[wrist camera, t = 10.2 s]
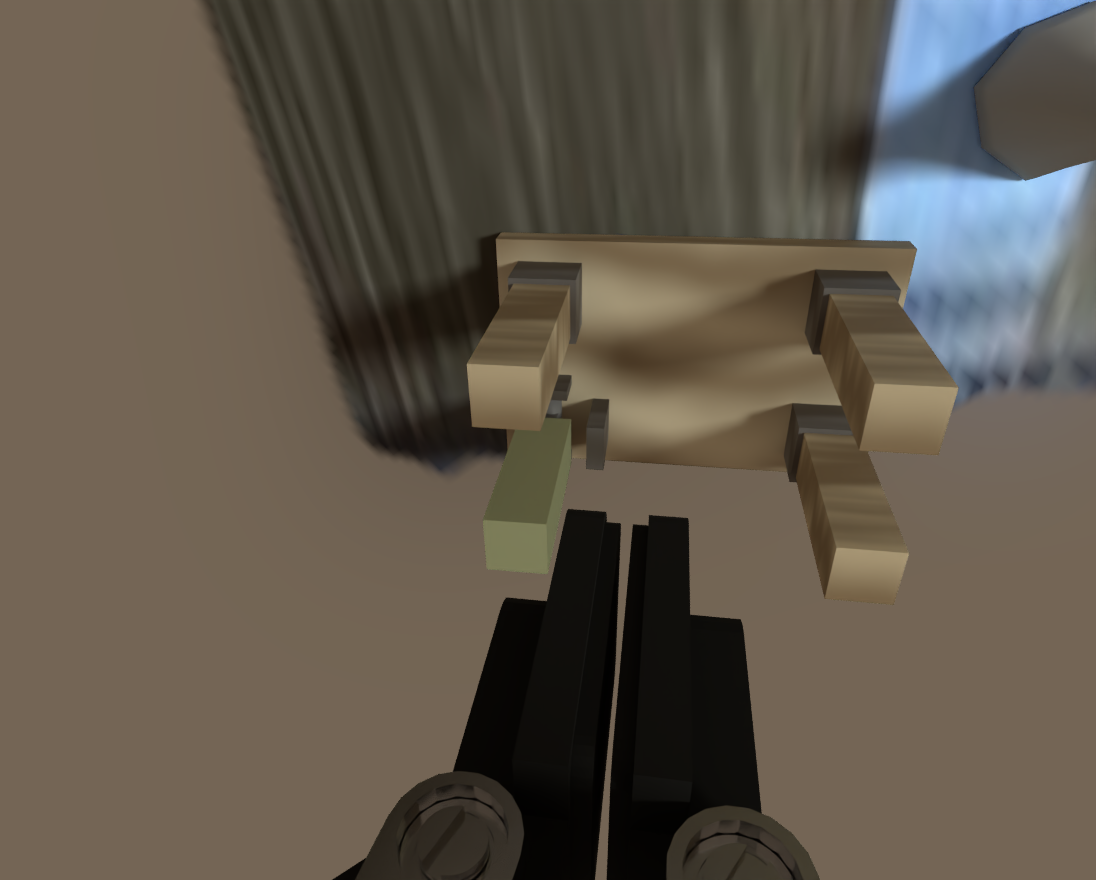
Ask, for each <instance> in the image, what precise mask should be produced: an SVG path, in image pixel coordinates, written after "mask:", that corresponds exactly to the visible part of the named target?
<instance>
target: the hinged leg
mask: <svg viewBox="0 0 1096 880" xmlns="http://www.w3.org/2000/svg"><path fill="white" fill-rule="evenodd" d="M570 466H571V419H562V401H558V400H550V403H549V406H548V410H547V413H546V416H545V419H544V422H543V425H542V428H541V431H531V430H515V432H514V434H513V437H512V440H511V443H510V446H509V448H508V451H507V454H506V457H505V460H504V462H503V465H502V468H501V471H500V474H499V477H498V479H497V482H496V485H495V487H494V490H493V493H492V496H491V499H490V502H489V504H488V507H487V510H486V513H485V515H484V518H483V527H484V539H485V552H486V563H487V569H492V570H504V571H516V572H529V573H541V574H548V570H549V565H550V561H551V556H552V551H553V546H554V542H555V537H556V532H557V528H558V523H559V518H560V514H561V509H562V504H563V499H564V495H565V490H566V485H567V480H568V476H569V471H570Z"/></svg>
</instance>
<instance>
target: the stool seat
mask: <svg viewBox="0 0 1096 880" xmlns="http://www.w3.org/2000/svg"><path fill="white" fill-rule="evenodd" d="M496 251H497V269H498V286H499V304H500V308H499V310H498V311H497V313H496V315H495V316H494V318H493V320H492V322H491V323H490V325H489V327H488V328H487V330H486V332H485V334H484V335H483V337H482V339H481V341H480V342H479V344H478V346H477V347H476V349H475V351H474V353H473V354H472V356H471V358H470V359H469V361H468V363H467V371H468V382H469V394H470V406H471V418H472V427H482V428H498V429H507V446H508V448H509V446H510V443H511V440H512V437H513V434H514V432H515V430H531V431H541V428H542V425H543V422H544V419H545V416H546V413H547V410H548V406H549V403H550V400H558V401H562V419H571V459H572V458H580V459H581V458H582V459H586V469H594V470H603V468H604V462H605V460H611V461H626V462H641V463H656V464H673V465H688V466H702V467H718V468H733V469H748V470H763V471H779V472H788V477H789V481H790V482H797V485H798V489H799V493H800V498H801V501H802V506H803V510H804V514H805V518H806V523H807V527H808V531H809V535H810V539H811V544H812V548H813V552H814V556H815V560H816V564H817V569H818V572H819V577H820V581H821V585H822V589H823V594H824V598H825V599H833V600H846V601H856V602H867V603H879V604H890V605H894V602H895V599H896V595H897V592H898V588H899V585H900V582H901V579H902V575H903V572H904V569H905V565H906V562H907V559H908V555H909V552H908V549H907V547H906V545H905V542H904V540H903V537H902V535H901V533H900V530H899V527H898V525H897V523H896V520H895V518H894V515H893V513H892V511H891V508H890V505H889V503H888V501H887V498H886V496H885V494H884V491H883V489H882V486H881V484H880V481H879V479H878V476H877V474H876V472H875V469H874V466H873V464H872V462H871V459H870V457H869V454H868V451H878V452H893V453H910V454H927V455H939V452H940V448H941V444H942V442H943V438H944V435H945V431H946V428H947V425H948V421H949V418H950V415H951V411H952V408H953V405H954V401H955V398H956V395H957V391H958V388H959V387H958V386H957V385H956V383H955V382H954V380H953V379H952V378H951V376H950V375H949V373H948V372H947V371H946V369H945V368H944V366H943V365H942V364H941V362H940V361H939V359H938V358H937V356H936V355H935V354H934V352H933V351H932V349H931V348H930V347H929V345H928V344H927V342H926V341H925V340H924V338H923V337H922V335H921V334H920V333H919V331H918V330H917V328H916V327H915V325H914V324H913V323H912V321H911V320H910V318H909V317H908V316H907V314H906V313H905V311H904V310H903V305H904V301H905V297H906V293H907V289H908V285H909V280H910V276H911V272H912V268H913V264H914V260H915V255H916V251H917V249H916V247H915V246H914V245H913V244H912V243H911V242H910V241H870V240H826V239H781V238H736V237H691V236H646V235H601V234H556V233H511V232H501V233H500V234H499V236H498V237H497V238H496Z"/></svg>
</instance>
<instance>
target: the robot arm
mask: <svg viewBox="0 0 1096 880" xmlns="http://www.w3.org/2000/svg"><path fill="white" fill-rule="evenodd" d="M606 516H607V515H606V512H599V511H586V510H573V509H568V510H567V513H566V517H565V522H564V526H563V531H562V536H561V540H560V544H559V549H558V553H557V558H556V562H555V567H554V572H553V576H552V581H551V585H550V590H549V594H548V599H547V601H538V600H527V599H517V598H506V599H505V600H504V602H503V604H502V607H501V610H500V613H499V616H498V620H497V623H496V627H495V630H494V634H493V637H492V640H491V644H490V647H489V650H488V654H487V657H486V661H485V664H484V667H483V671H482V674H481V678H480V681H479V684H478V688H477V691H476V695H475V698H474V702H473V705H472V708H471V712H470V715H469V719H468V722H467V726H466V729H465V733H464V736H463V739H462V742H461V746H460V749H459V753H458V756H457V759H456V763H455V766H454V770H453V772H450V773H444V774H438V775H436V776H434V777H431V778H429V779H427V780H425V781H423V782H421V783H418V784H417V785H416V786H415V787H413V788H412V789H411V790H410V791H409V792H407V793H406V794H405V795H404V796H403V797H401V799H400V800H399V801H398V803H397V804H396V806H395V807H394V808H393V810H392V811H391V813H390V814H389V816H388V817H387V819H386V821H385V823H384V825H383V827H382V829H381V831H380V833H379V835H378V836H377V838H376V840H375V842H374V844H373V846H372V848H371V850H370V852H369V854H368V856H367V858H365V859H364V860H362V861H361V862H359V863H357V864H356V865H354V866H353V867H351V868H350V869H348V870H347V871H345V872H344V873H342V874H341V875H339V876H338V877H336V878H334V879H333V880H595V874H596V873H595V872H596V863H597V853H598V843H599V832H600V822H601V812H602V801H603V791H604V781H605V771H606V760H607V750H608V739H609V728H610V719H611V709H612V698H613V688H614V677H615V662H616V638H617V613H618V612H617V611H618V587H619V560H620V536H621V524H620V523H609V522H606V521H607V517H606ZM688 522H689V521H688V518H679V517H666V516H653V515H649V526H647V525H633V530H632V541H631V552H630V564H629V574H628V585H627V597H626V607H625V619H624V630H623V641H622V652H621V663H620V674H619V686H618V696H617V707H616V718H615V729H614V730H615V731H614V740H613V753H612V768H611V783H610V807H609V833H608V859H607V880H820V879H819V876H818V874H817V871H816V869H815V867H814V865H813V863H812V861H811V858H810V856H809V854H808V852H807V851H806V850H805V849H804V847H803V846H802V845H801V844H800V843H799V841H798V840H797V839H796V838H795V836H794V835H793V834H792V833H791V832H790V831H788V830H787V829H786V828H784V827H783V826H782V825H780V824H779V823H778V822H777V821H775V820H774V819H772V818H771V817H769V816H766V815H764V814H762V812H761V802H760V792H759V782H758V772H757V762H756V752H755V742H754V732H753V721H752V711H751V701H750V691H749V682H748V671H747V661H746V651H745V642H744V632H743V625H742V622H741V620H740V619H730V618H719V617H709V616H698V615H690V587H689V586H690V585H689V584H690V583H689V582H690V581H689V523H688Z"/></svg>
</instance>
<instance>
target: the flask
mask: <svg viewBox="0 0 1096 880" xmlns="http://www.w3.org/2000/svg"><path fill="white" fill-rule="evenodd" d="M974 93H975V101H976V109H977V117H978V125H979V133H980V141H981V148H982V149H984V150H985V151H986V152H988V153H989V154H990V155H992V156H993V157H994V158H996V159H997V160H998V161H1000V162H1001V163H1002V164H1004V165H1005V166H1006V167H1008V168H1009V169H1011V170H1012V171H1013V172H1015V173H1016V174H1017V175H1019V176H1020V177H1021V178H1023V179H1024V180H1025V181H1026V180H1030V179H1033V178H1037V177H1040V176H1043V175H1046V174H1049V173H1052V172H1055V171H1058V170H1061V169H1064V168H1067V167H1071V166H1075V165H1079V164H1082V163H1086V162H1090V161H1094V160H1096V1H1093V2H1091V3H1088V4H1085V5H1083V6H1080V7H1078V8H1075V9H1072V10H1070V11H1067V12H1065V13H1062V14H1059V15H1057V16H1054V17H1052V18H1049V19H1046V20H1044V21H1041V22H1039V23H1036V24H1034V25H1031V26H1028V27H1026V28H1024V29H1023V30H1022V32H1021V33H1020V34H1019V35H1018V36H1017V37H1016V39H1015V40H1014V41H1013V42H1012V43H1011V45H1010V46H1009V47H1008V48H1007V49H1006V50H1005V52H1004V53H1003V54H1002V55H1001V56H1000V57H999V59H998V60H997V61H996V62H995V63H994V65H993V66H992V67H991V68H990V69H989V70H988V72H987V73H986V74H985V75H984V76H983V77H982V79H981V80H980V81H979V82H978V83H977V85H976V86H975V87H974Z"/></svg>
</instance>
